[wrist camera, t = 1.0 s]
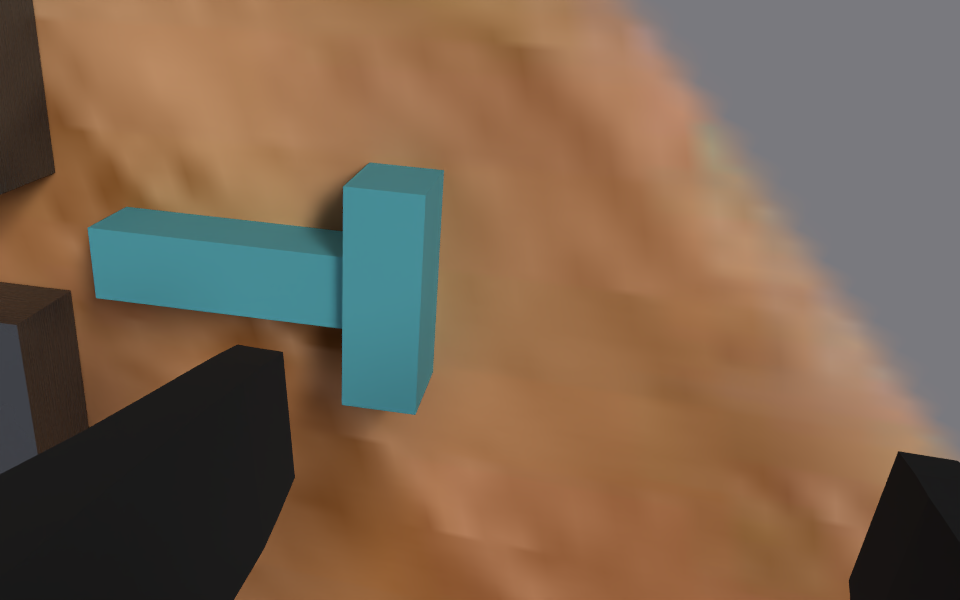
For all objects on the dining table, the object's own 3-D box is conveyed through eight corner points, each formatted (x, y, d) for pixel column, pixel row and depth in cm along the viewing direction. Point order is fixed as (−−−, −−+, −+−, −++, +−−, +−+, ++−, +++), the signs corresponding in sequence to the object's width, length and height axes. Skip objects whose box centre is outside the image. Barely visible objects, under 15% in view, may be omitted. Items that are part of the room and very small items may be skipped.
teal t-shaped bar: (432, 371, 24) (415, 414, 22) (140, 333, 25) (94, 371, 23) (443, 170, 22) (425, 195, 20) (120, 136, 23) (66, 156, 21)
